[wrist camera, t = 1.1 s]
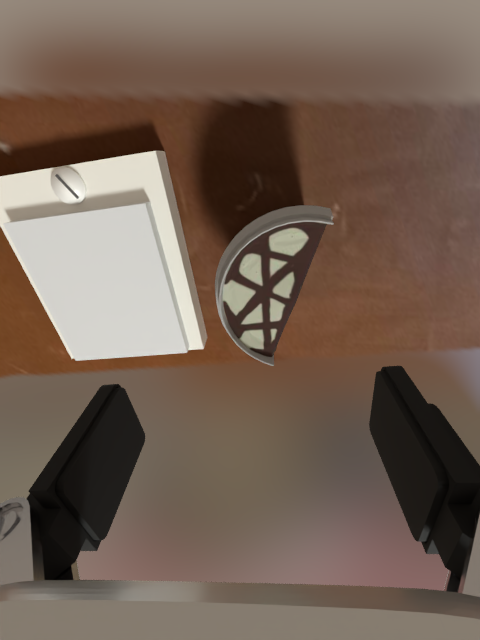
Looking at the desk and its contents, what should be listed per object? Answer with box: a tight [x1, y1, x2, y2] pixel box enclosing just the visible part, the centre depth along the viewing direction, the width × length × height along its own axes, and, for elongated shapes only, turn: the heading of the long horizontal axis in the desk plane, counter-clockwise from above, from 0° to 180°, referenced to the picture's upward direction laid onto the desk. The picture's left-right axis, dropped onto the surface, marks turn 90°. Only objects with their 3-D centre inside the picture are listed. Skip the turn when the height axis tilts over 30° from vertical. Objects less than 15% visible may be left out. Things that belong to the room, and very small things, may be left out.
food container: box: [215, 205, 334, 366], centre depth 23 cm, size 12×6×10 cm, turn 165°
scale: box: [0, 151, 207, 361], centre depth 28 cm, size 16×19×4 cm
